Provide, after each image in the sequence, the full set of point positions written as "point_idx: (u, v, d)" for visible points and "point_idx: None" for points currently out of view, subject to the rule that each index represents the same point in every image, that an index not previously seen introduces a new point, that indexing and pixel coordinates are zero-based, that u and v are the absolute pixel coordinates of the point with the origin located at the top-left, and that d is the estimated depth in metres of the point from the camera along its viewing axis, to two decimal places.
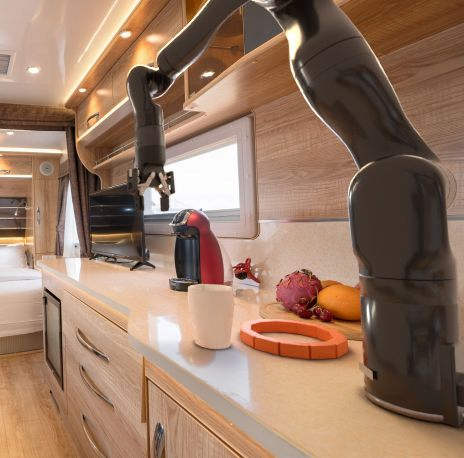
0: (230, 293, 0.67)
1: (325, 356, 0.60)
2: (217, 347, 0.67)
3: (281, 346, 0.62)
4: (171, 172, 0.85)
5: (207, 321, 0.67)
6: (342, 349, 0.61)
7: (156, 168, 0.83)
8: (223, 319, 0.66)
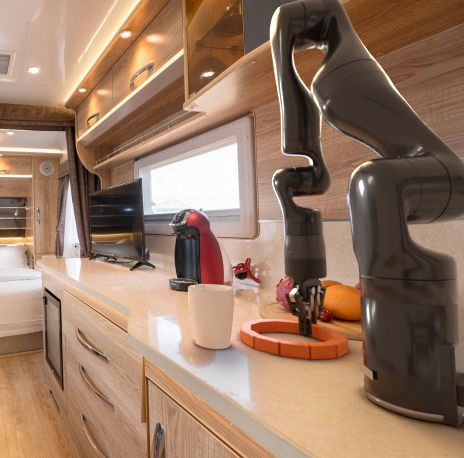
0: (230, 293, 0.67)
1: (325, 356, 0.60)
2: (217, 347, 0.67)
3: (281, 346, 0.62)
4: (324, 288, 0.75)
5: (207, 321, 0.67)
6: (342, 349, 0.61)
7: (313, 280, 0.73)
8: (223, 319, 0.66)
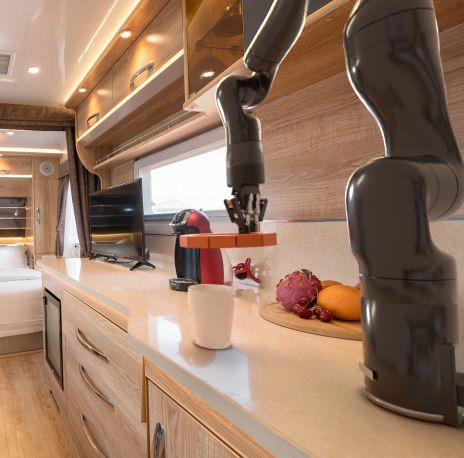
0: (230, 293, 0.67)
1: (251, 245, 0.61)
2: (217, 347, 0.67)
3: (210, 239, 0.63)
4: (266, 199, 0.76)
5: (207, 321, 0.67)
6: (269, 240, 0.62)
7: (253, 189, 0.74)
8: (223, 319, 0.66)
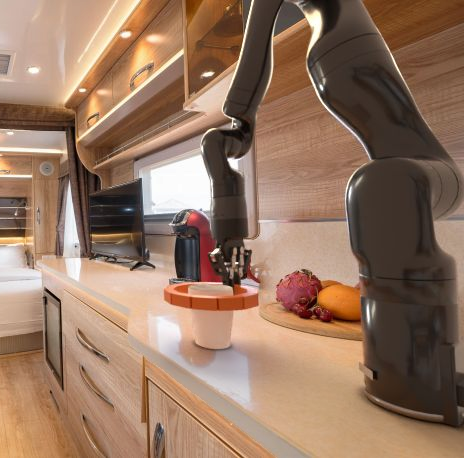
0: (230, 293, 0.67)
1: (232, 308, 0.61)
2: (217, 347, 0.67)
3: (192, 300, 0.63)
4: (250, 250, 0.76)
5: (207, 321, 0.67)
6: (251, 302, 0.63)
7: (237, 241, 0.74)
8: (223, 319, 0.66)
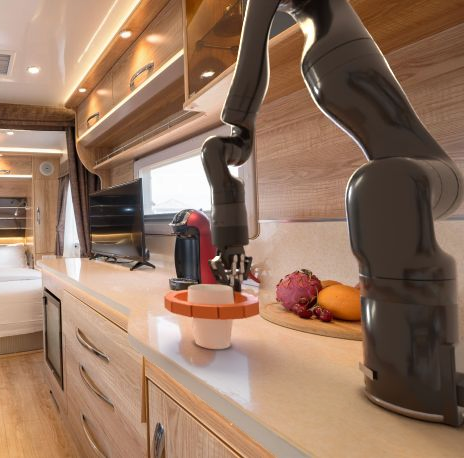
0: (230, 293, 0.67)
1: (233, 317, 0.61)
2: (217, 347, 0.67)
3: (193, 308, 0.63)
4: (250, 257, 0.76)
5: (207, 321, 0.67)
6: (251, 311, 0.62)
7: (237, 248, 0.74)
8: None
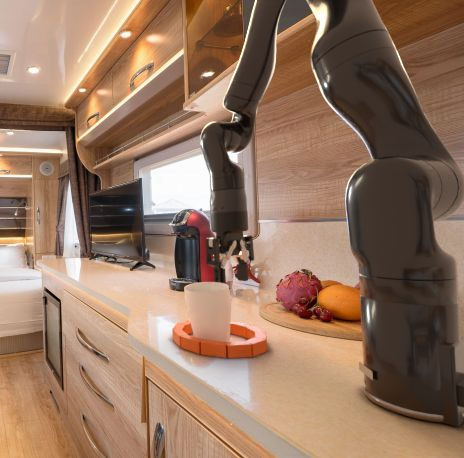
0: (227, 292, 0.66)
1: (241, 355, 0.62)
2: None
3: (201, 345, 0.64)
4: (250, 237, 0.76)
5: (206, 322, 0.66)
6: (259, 348, 0.63)
7: (236, 234, 0.74)
8: (221, 318, 0.66)
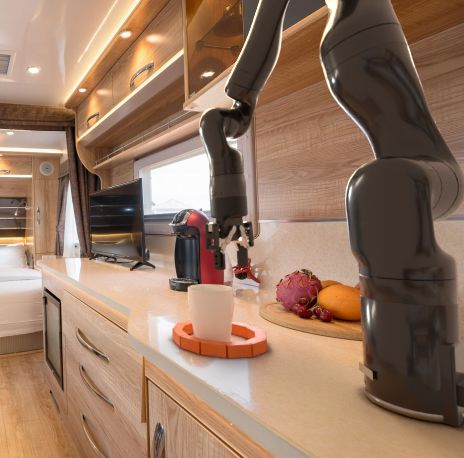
0: (230, 293, 0.67)
1: (241, 355, 0.62)
2: None
3: (201, 345, 0.64)
4: (250, 223, 0.77)
5: (207, 321, 0.67)
6: (259, 348, 0.63)
7: (236, 220, 0.74)
8: (223, 319, 0.66)
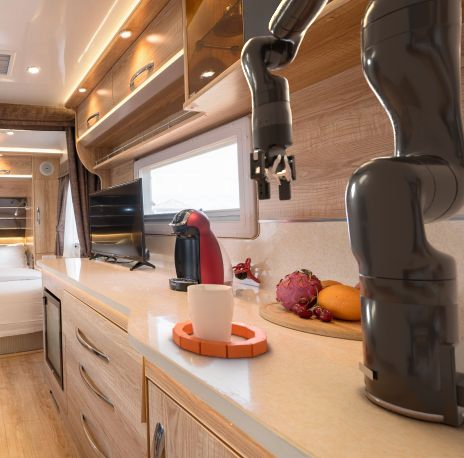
0: (230, 292, 0.67)
1: (241, 355, 0.62)
2: None
3: (201, 345, 0.64)
4: (292, 156, 0.75)
5: (207, 320, 0.67)
6: (259, 348, 0.63)
7: (280, 151, 0.73)
8: (222, 318, 0.66)
